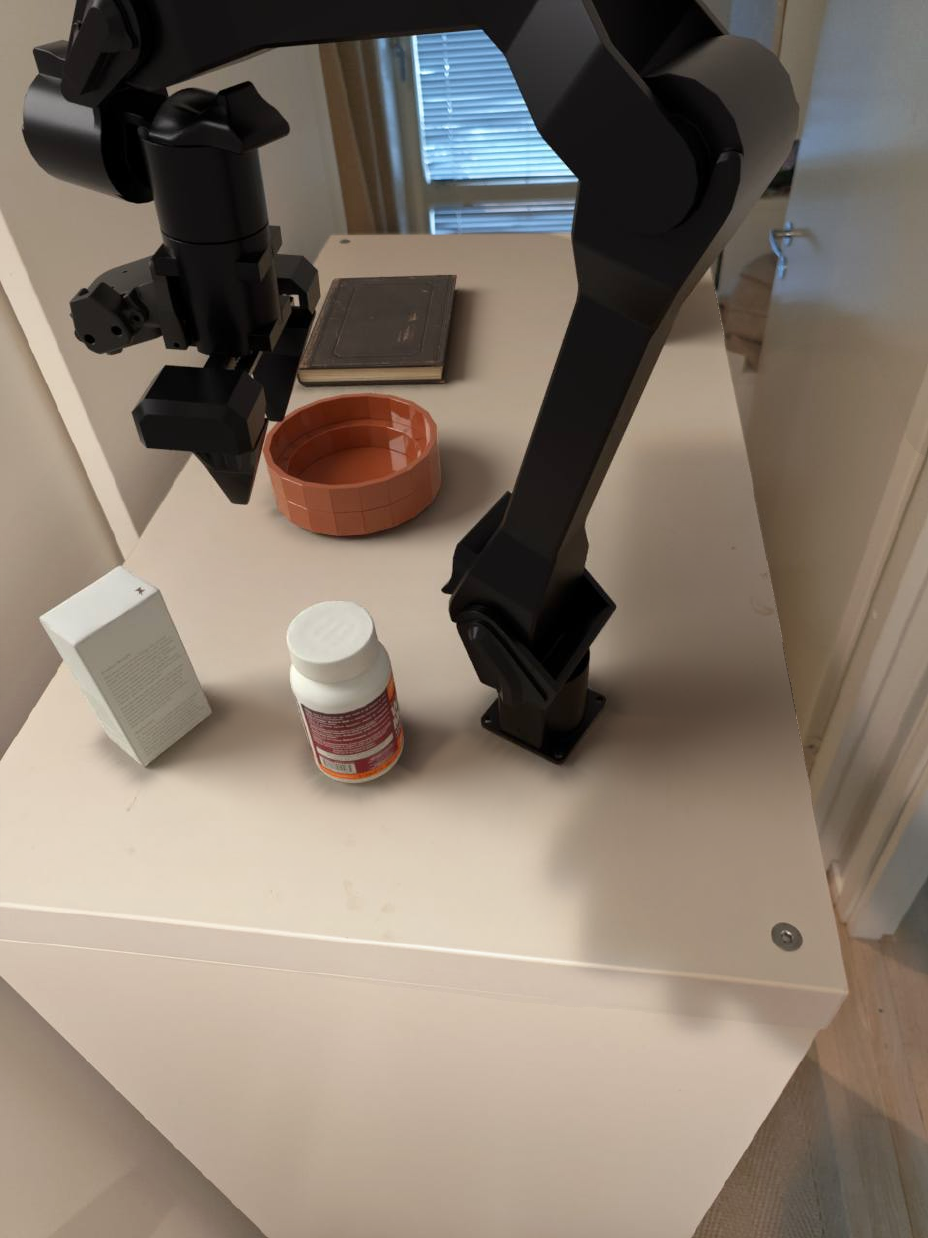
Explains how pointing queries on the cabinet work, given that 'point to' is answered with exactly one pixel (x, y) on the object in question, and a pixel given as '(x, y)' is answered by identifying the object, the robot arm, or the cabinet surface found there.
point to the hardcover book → (382, 332)
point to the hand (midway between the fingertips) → (259, 459)
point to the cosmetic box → (129, 663)
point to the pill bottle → (345, 691)
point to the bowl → (353, 463)
